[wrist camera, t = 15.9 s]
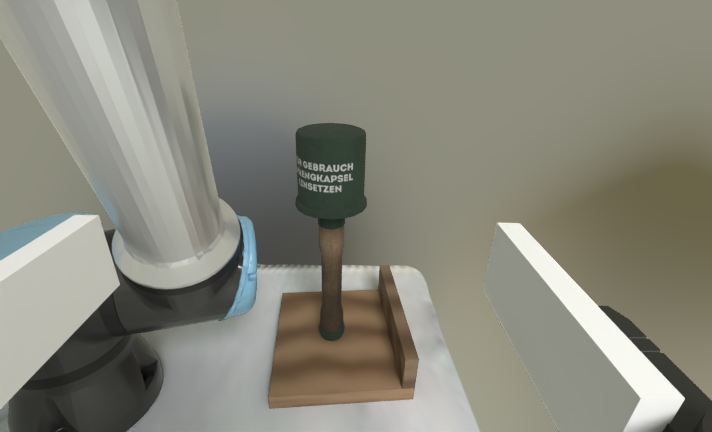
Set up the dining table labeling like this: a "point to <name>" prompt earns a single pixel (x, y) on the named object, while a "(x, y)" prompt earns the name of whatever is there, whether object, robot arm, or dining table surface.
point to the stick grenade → (331, 202)
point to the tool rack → (344, 350)
